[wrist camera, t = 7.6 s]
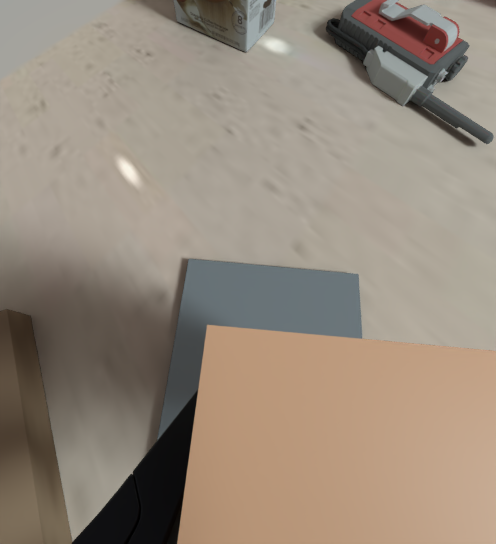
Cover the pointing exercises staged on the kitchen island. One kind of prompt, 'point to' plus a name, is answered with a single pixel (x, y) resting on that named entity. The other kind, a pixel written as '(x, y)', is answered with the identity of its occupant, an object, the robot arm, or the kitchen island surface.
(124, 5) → the kitchen island surface
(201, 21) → the coffee box
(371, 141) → the kitchen island surface
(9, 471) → the plate
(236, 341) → the terracotta block
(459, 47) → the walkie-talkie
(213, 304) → the slate grey mat
